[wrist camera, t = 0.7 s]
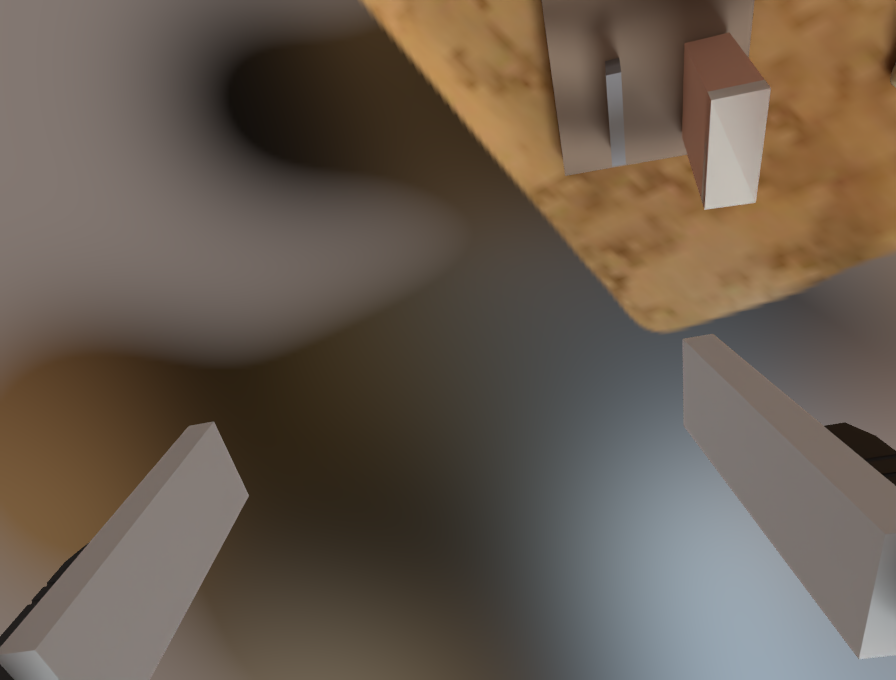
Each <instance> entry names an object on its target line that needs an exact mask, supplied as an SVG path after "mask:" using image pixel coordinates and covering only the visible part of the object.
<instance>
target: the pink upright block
mask: <svg viewBox="0 0 896 680" xmlns="http://www.w3.org/2000/svg"><path fill="white" fill-rule="evenodd" d="M770 91H771V88H770V86H769V85H768V84H767V82H766V81H765V80H764V78H763V77H762V76H761V74H760V73H759V71H758V70H757V69H756V67H755V66H754V65H753V63H752V62H751V61H750V59H749V58H748V57H747V55H746V54H745V53H744V51H743V50H742V49H741V47H740V46H739V45H738V43H737V42H736V40H735V39H734V38H733V36H732V35H731V34H730V32H729V33H725V34H720V35H716V36H712V37H708V38H704V39H700V40H696V41H692V42H688V43H684V76H683V116H682V139H683V142H684V145H685V148H686V152H687V155H688V158H689V161H690V164H691V168H692V171H693V174H694V177H695V180H696V184H697V187H698V190H699V193H700V196H701V200H702V203H703V206H704V209H705V210H706V209H713V208H720V207H727V206H735V205H742V204H749V203H756V196H757V188H758V181H759V173H760V166H761V158H762V151H763V143H764V136H765V128H766V121H767V113H768V106H769V98H770Z"/></svg>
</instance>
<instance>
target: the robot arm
mask: <svg viewBox="0 0 896 680" xmlns="http://www.w3.org/2000/svg"><path fill="white" fill-rule="evenodd" d="M683 404H684V405H683V407H684V408H683V409H684V410H683V411H684V427H685V428H686V429H687V431H688V432H689V433H690V435H691V436H692V437H693V439H694V440H695V441H696V443H697V444H698V445H699V447H700V448H701V449H702V451H703V452H704V453H705V455H706V456H707V457H708V459H709V460H710V461H711V463H712V464H713V465H714V467H715V468H716V469H717V471H718V472H719V473H720V475H721V476H722V477H723V479H724V480H725V481H726V483H727V484H728V485H729V487H730V488H731V489H732V491H733V492H734V493H735V495H736V496H737V497H738V499H739V500H740V501H741V503H742V504H743V505H744V507H745V508H746V509H747V511H748V512H749V513H750V515H751V516H752V517H753V519H754V520H755V521H756V523H757V524H758V525H759V527H760V528H761V529H762V531H763V532H764V533H765V535H766V536H767V537H768V539H769V540H770V541H771V543H772V544H773V545H774V547H775V548H776V549H777V551H778V552H779V553H780V555H781V556H782V557H783V559H784V560H785V561H786V563H787V564H788V565H789V567H790V568H791V569H792V571H793V572H794V573H795V575H796V576H797V577H798V579H799V580H800V581H801V583H802V584H803V585H804V587H805V588H806V589H807V591H808V592H809V593H810V595H811V596H812V597H813V599H814V600H815V601H816V603H817V604H818V605H819V607H820V608H821V609H822V611H823V612H824V613H825V615H826V616H827V617H828V619H829V620H830V621H831V622H832V624H833V625H834V627H835V628H836V629H837V631H838V632H839V633H840V634H841V636H842V637H843V639H844V640H845V641H846V643H847V644H848V645H849V647H850V648H851V649H852V651H853V652H854V653H855V655H856V656H857V657H858V659H865V658H873V657H881V656H891V655H896V451H895V450H894V449H892V448H891V447H890V446H888V445H887V444H886V443H884V442H883V441H882V440H880V439H879V438H878V437H876V436H875V435H872V434H870V433H868V432H866V431H863V430H861V429H858V428H856V427H854V426H852V425H849V424H847V423H839V424H833V425H827V426H823V425H822V424H821V423H819V422H818V421H817V420H816V419H815V418H813V417H812V416H811V415H810V414H808V413H807V412H806V411H805V410H804V409H803V408H801V407H800V406H799V405H798V404H796V403H795V402H794V401H793V400H792V399H791V398H789V397H788V396H787V395H786V394H785V393H783V392H782V391H781V390H779V389H778V388H777V387H776V386H775V385H774V384H772V383H771V382H770V381H769V380H768V379H766V378H765V377H764V376H763V375H762V374H760V373H759V372H758V371H757V370H756V369H754V368H753V367H752V366H751V365H750V364H748V363H747V362H746V361H745V360H744V359H742V358H741V357H740V356H739V355H737V354H736V353H735V352H734V351H733V350H732V349H730V348H729V347H728V346H727V345H726V344H724V343H723V342H722V341H721V340H720V339H718V338H717V337H716V336H715V335H714V334H709V335H703V336H698V337H692V338H687V339H683ZM248 496H249V495H248V493H247V491H246V489H245V487H244V484H243V482H242V480H241V478H240V476H239V474H238V472H237V470H236V468H235V465H234V463H233V461H232V459H231V457H230V455H229V453H228V451H227V448H226V446H225V445H224V442H223V440H222V438H221V436H220V434H219V432H218V429H217V427H216V425H215V423H214V422H209V423H204V424H198V425H192V426H189V427H188V428H187V429H186V430H185V431H184V432H183V434H182V435H181V436H180V437H179V438H178V439H177V441H176V442H175V443H174V444H173V445H172V446H171V448H170V449H169V450H168V451H167V452H166V453H165V455H164V456H163V457H162V458H161V459H160V460H159V462H158V463H157V464H156V465H155V467H154V468H153V469H152V470H151V471H150V472H149V473H148V475H147V476H146V477H145V478H144V479H143V480H142V482H141V483H140V484H139V485H138V486H137V487H136V489H135V490H134V491H133V492H132V493H131V494H130V496H129V497H128V498H127V499H126V500H125V502H124V503H123V504H122V505H121V506H120V507H119V509H118V510H117V511H116V512H115V513H114V514H113V516H112V517H111V518H110V519H109V520H108V521H107V523H106V524H105V525H104V526H103V527H102V528H101V530H100V531H99V532H98V533H97V534H96V536H95V537H94V538H93V539H92V540H91V542H89V543H88V544H87V545H85V546H84V547H83V548H82V549H80V550H79V551H78V552H77V553H75V554H74V555H73V556H72V557H71V558H69V559H68V560H67V561H66V562H65V563H64V564H63V565H62V566H61V567H60V568H59V570H58V571H57V572H56V573H55V574H54V575H53V576H52V578H51V579H50V580H49V581H48V582H47V586H46V587H43V588H42V589H41V590H40V591H39V593H38V594H37V595H36V596H35V597H34V598H33V600H32V604H31V605H27V606H26V607H25V609H24V610H23V611H22V612H21V613H20V614H19V616H18V617H17V618H16V619H15V620H14V621H13V622H12V624H11V625H10V626H9V627H8V628H7V629H6V630H5V632H4V633H3V634H2V635H1V636H0V680H150V678H151V676H152V675H153V673H154V671H155V669H156V667H157V665H158V663H159V662H160V660H161V658H162V656H163V654H164V652H165V650H166V649H167V647H168V645H169V643H170V641H171V639H172V637H173V636H174V634H175V632H176V630H177V628H178V626H179V624H180V623H181V621H182V619H183V617H184V615H185V613H186V611H187V610H188V608H189V606H190V604H191V602H192V600H193V598H194V596H195V595H196V593H197V591H198V589H199V587H200V585H201V583H202V582H203V580H204V578H205V576H206V574H207V572H208V570H209V569H210V567H211V565H212V563H213V561H214V559H215V557H216V555H217V553H218V552H219V550H220V548H221V546H222V544H223V543H224V541H225V539H226V537H227V535H228V533H229V531H230V529H231V527H232V526H233V524H234V522H235V520H236V518H237V517H238V515H239V513H240V511H241V509H242V507H243V505H244V503H245V502H246V500H247V498H248Z"/></svg>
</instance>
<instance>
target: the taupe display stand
mask: <svg viewBox="0 0 896 680" xmlns="http://www.w3.org/2000/svg"><path fill="white" fill-rule="evenodd" d="M542 7H543V15H544V22H545V29H546V37H547V44H548V51H549V59H550V66H551V73H552V81H553V88H554V95H555V103H556V110H557V118H558V125H559V132H560V140H561V147H562V154H563V162H564V169H565V176H567V175H572V174H578V173H584V172H590V171H595V170H601V169H607V168H613V167H618V166H624V165H630V164H636V163H641V162H647V161H653V160H659V159H664V158H670V157H676V156H682V155H687V152H686V148H685V145H684V142H683V139H682V116H683V76H684V43H688V42H692V41H696V40H700V39H704V38H708V37H712V36H716V35H720V34H725V33H729V32H730V34H731V35H732V36H733V38H734V39H735V40H736V42H737V43H738V45H739V46H740V47H741V49H742V50H743V51H744V53H745V54H746V55H747V57H748V58H749V48H750V39H751V29H752V19H753V9H754V0H542Z"/></svg>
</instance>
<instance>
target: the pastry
mask: <svg viewBox="0 0 896 680" xmlns="http://www.w3.org/2000/svg"><path fill="white" fill-rule="evenodd" d="M890 82H891V84H892V85H893V86H894V87H896V63H895V66H894V68H893V70H892V73H891V77H890Z"/></svg>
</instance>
